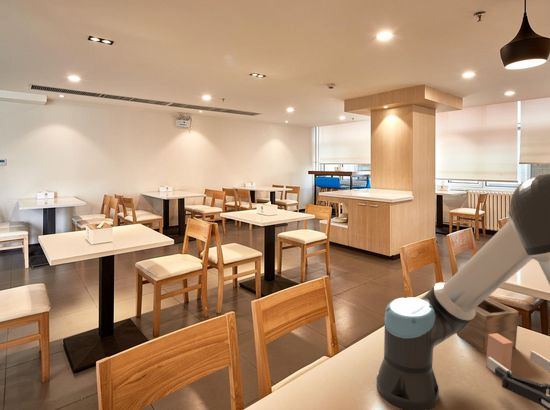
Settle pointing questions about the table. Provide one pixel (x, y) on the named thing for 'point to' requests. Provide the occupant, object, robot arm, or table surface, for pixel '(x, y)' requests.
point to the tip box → (490, 324)
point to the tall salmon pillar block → (499, 350)
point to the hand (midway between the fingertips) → (510, 358)
